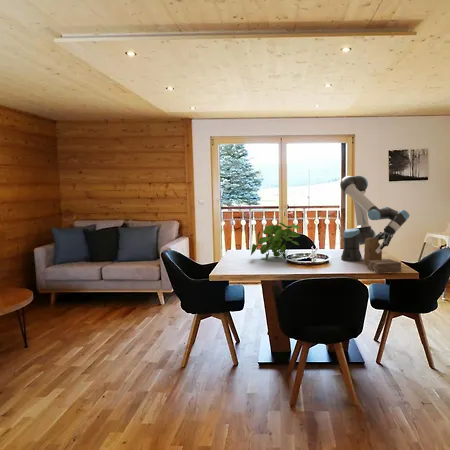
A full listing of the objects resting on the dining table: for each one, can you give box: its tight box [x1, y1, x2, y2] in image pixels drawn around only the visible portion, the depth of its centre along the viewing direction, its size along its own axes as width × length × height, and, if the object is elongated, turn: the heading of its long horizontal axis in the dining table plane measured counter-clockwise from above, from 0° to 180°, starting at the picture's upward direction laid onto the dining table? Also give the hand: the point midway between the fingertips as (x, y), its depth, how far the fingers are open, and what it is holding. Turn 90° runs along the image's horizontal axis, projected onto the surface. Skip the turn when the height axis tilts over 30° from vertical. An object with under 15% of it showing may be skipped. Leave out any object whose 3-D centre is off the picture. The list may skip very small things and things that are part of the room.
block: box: [363, 237, 383, 267], centre depth 287 cm, size 11×8×20 cm
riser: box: [366, 258, 402, 274], centre depth 272 cm, size 14×16×6 cm
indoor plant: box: [250, 222, 302, 261], centre depth 322 cm, size 44×42×30 cm
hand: (371, 251), depth 287 cm, fingers open, 13 cm apart
